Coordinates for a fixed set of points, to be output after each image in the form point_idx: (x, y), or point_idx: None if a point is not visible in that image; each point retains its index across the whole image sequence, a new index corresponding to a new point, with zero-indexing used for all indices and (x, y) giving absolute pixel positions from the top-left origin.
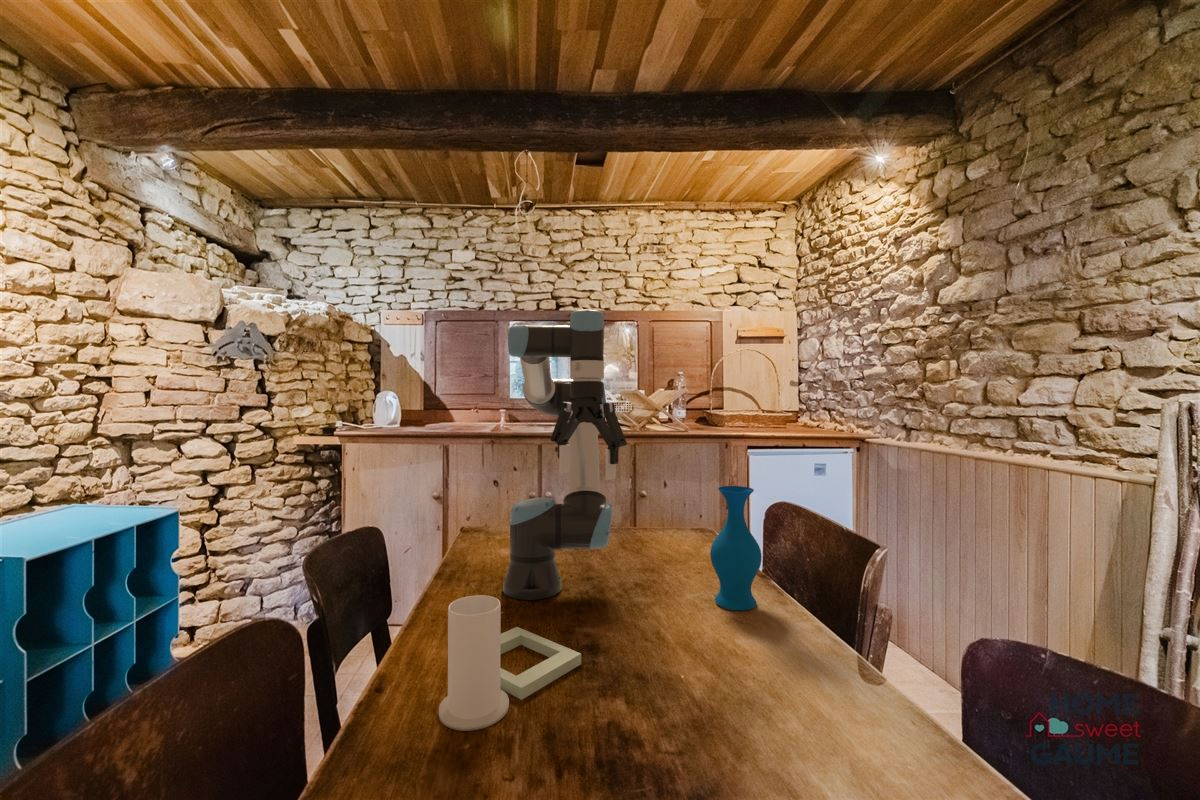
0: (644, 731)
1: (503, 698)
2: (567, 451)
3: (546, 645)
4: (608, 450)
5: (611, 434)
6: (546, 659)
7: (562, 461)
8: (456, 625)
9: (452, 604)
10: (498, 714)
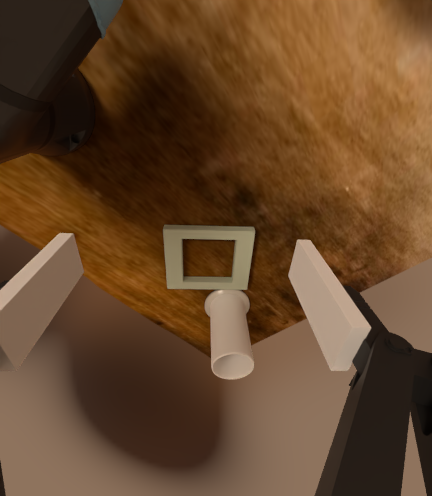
0: (338, 263)
1: (238, 294)
2: (22, 308)
3: (217, 239)
4: (346, 364)
5: (421, 463)
6: (235, 255)
7: (60, 301)
8: (234, 370)
9: (214, 371)
10: (248, 304)
